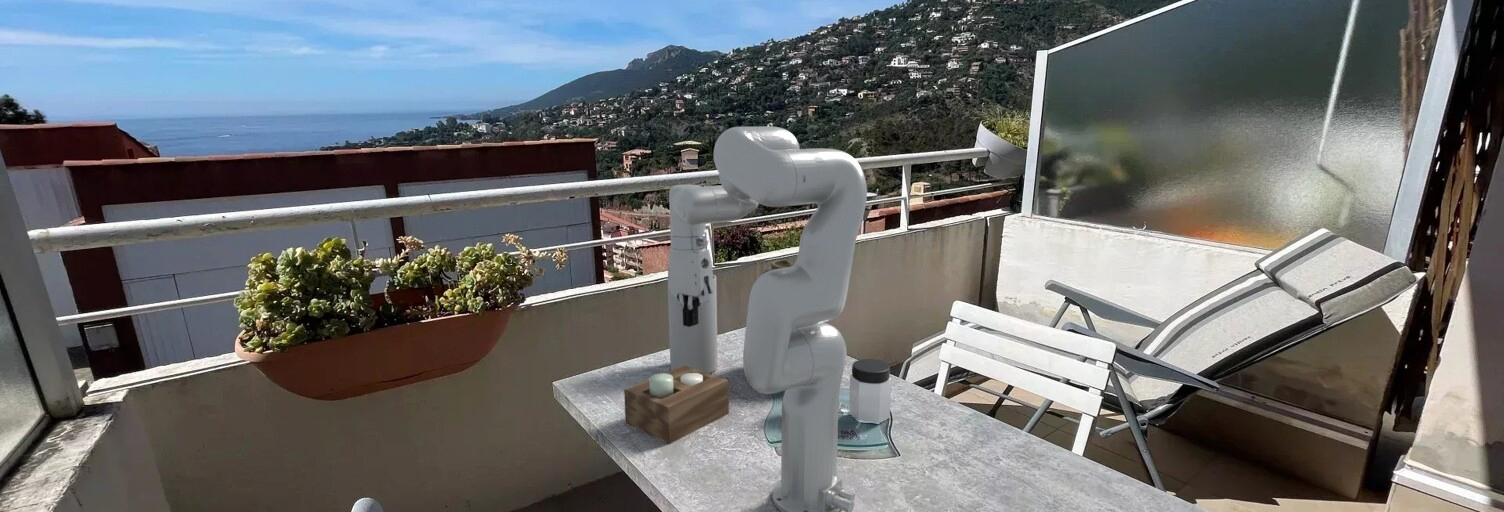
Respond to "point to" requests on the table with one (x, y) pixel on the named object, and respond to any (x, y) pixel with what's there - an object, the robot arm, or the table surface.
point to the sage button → (661, 385)
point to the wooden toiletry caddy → (677, 405)
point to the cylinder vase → (694, 335)
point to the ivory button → (691, 378)
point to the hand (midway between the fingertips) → (690, 324)
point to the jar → (870, 390)
